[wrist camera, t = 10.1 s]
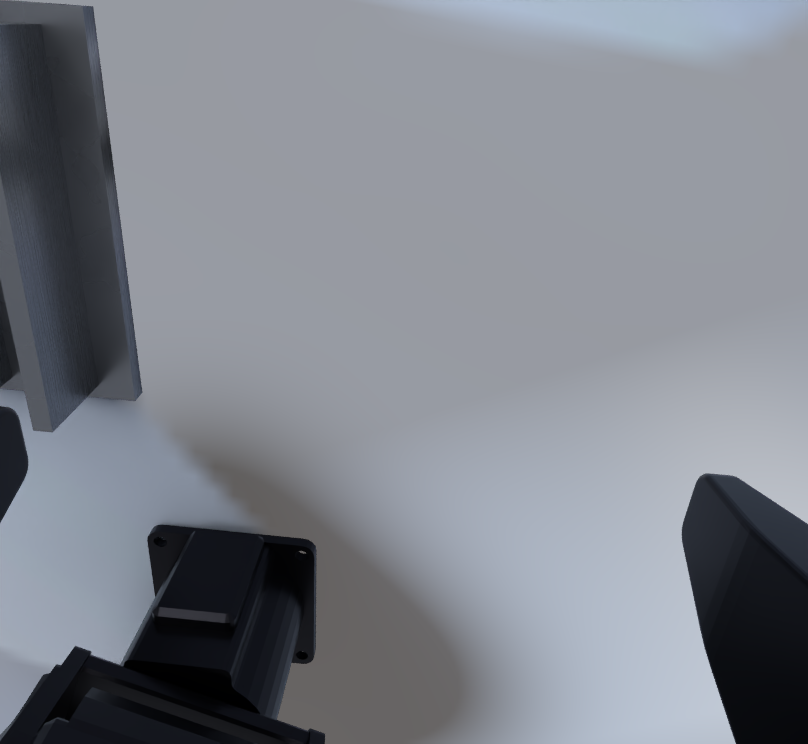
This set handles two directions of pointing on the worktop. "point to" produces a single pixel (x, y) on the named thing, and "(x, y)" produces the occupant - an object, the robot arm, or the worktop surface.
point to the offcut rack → (59, 219)
